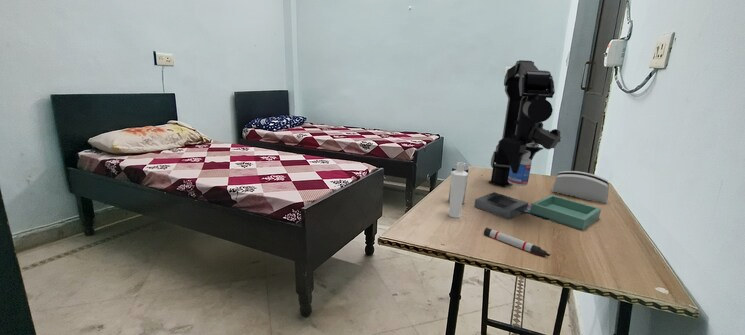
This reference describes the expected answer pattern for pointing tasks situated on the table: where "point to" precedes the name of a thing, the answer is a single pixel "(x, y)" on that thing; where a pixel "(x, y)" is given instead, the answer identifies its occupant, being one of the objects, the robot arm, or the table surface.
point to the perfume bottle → (457, 190)
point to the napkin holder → (582, 185)
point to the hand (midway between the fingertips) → (519, 171)
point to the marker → (515, 242)
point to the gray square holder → (493, 205)
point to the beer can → (456, 169)
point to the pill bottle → (521, 172)
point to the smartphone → (531, 213)
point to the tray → (566, 211)
